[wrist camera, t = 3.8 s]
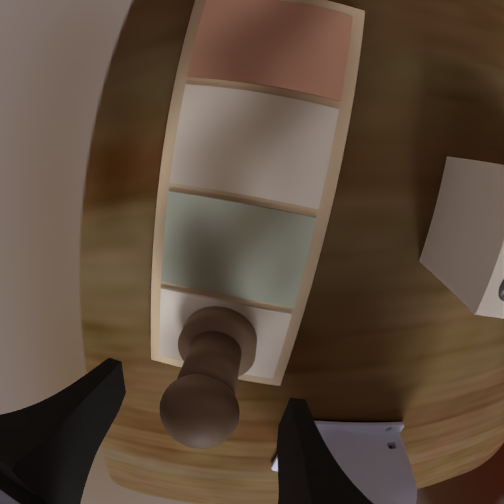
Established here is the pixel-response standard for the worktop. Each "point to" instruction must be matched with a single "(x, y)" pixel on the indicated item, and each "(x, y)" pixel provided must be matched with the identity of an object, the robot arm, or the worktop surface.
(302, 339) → the worktop surface
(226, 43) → the board
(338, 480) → the robot arm
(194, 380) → the pawn
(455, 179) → the die
